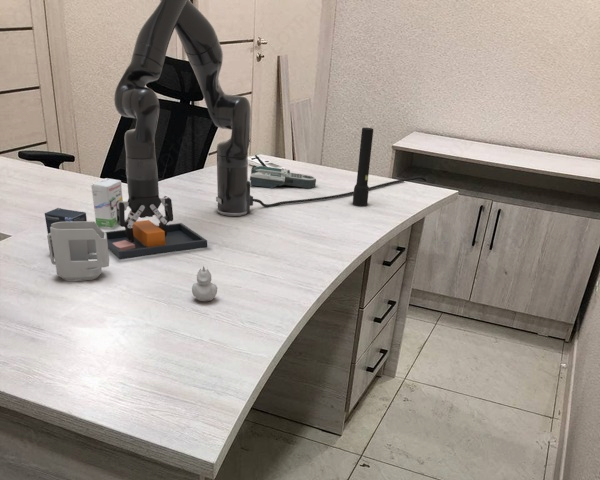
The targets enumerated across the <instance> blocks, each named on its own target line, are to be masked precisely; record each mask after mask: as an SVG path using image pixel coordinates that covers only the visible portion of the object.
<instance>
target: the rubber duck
mask: <svg viewBox="0 0 600 480" xmlns="http://www.w3.org/2000/svg"><path fill="white" fill-rule="evenodd" d="M191 293H192V295H193V296H194V297H195V299H196V300H198V301H200V302H210V301H212V300H213V299H214V298H215V297H216V296H217V294H218V286H217V284H215V283H213V282H212V273H211V271H210V270H209V269H208V268H207V269H206V268H205V265H202V268H199V270H198V271H197V274H196V282H194V283H193V284H192V286H191Z"/></svg>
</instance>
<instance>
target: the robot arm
mask: <svg viewBox="0 0 600 480" xmlns="http://www.w3.org/2000/svg"><path fill="white" fill-rule="evenodd" d="M152 12H153V13H151V14H150V16H149V17H148V19H147V20H146V21H145V22H144V24H143V25H142V27H141V28H140V30H139V32H138V34H137V37H136V40H135V44H134V48H133V51H132V55H131V59H130V63H129V64H128V66H127V67H126V69H125V71H124V73H123V74H122V75H121V76H122V77H120V79H119V81H118V83H117V86H116V88H115V90H114V97H113V102H114V107H115V110H116V111H117V113H118V114H119V115H120V116H122V117H125V118H128V119H133V120H134V119H135V120H136V123H135V128H132V129H129V130H126V132H125V133H124V148H125V175H126V184H127V194H128V199H127V200H126V201H123V202H121V201H119V200H118V201H117V202H116V209H117V223H118V224H117V225H119V226H120V227H121V228H124V230H125V232H126V238H127V239H128V240H129V241H130V242H131V243H132V242H134V236H133V228H132V226H133V224H134V223H135V222H136V221H138V220H139V218H140V219H144V218H147V217H148V218H153V216H154V217H156V219H157V220H158V221H159V222H158V226H159V228H161V229H162V230H163V231H165V236H166V235H167V226H166V225H168V224H169V222H173V221H174V212H173V210H174V209H173V202H172V201H173V200H172V199H171V197H169V196H166V195H164V196H163V197H160V191H159V189H160V188H159V176H158V175H159V174H158V173H159V172H158V163H157V157H156V144H155V143H156V142H155V137H156V132H157V127H158V121H159V116H160V101H159V98H158V95H157V93H156V92H155V91H154V90H153V89H152V88H150V87H146V86H147V85H148V84H149V83H153V82H156V81H158V80H159V78H160V77H161V74H162V71H163V66H164V63H165V59H166V55H167V51H168V48H169V46H170V45H169V44H170V41H171V39H172V36H173V34H174V32H176V34H177V36H178V39H179V41H180V43H181V46H182V49H183V51H184V53H185V56H186V58H187V60H188V62H189V64H190V66H191V68H192V70H193V73H194V75H195V78H196V80H197V82H198V85H199V87H200V90H201V93H202V96H203V99H204V102H205V106H206V108H207V111H208V115H209V117H210V120H211V122H212V123H213V124H214V126H215V127H217V128H219V129H222V130H228V131H231V135H230V138H229V139H228V140H224V141H220V142H218V143H217V145H216V176H217V177H216V181H217V183H216V185H217V186H216V188H217V193H216V194H217V196H215V202H216V203H217V205H216V206H217V209H216V210H217V214H219V215H222V216H226V217H227V216H228V217H240V216H241V217H242V216H245V215H247V214H251V207H252V206H254V203H258V204H260V206H262V207H265V208H272V207H277V206H280V205H287V204H288V205H289V204H298V203H299V204H300V203H308V202H309V203H310V202H316V201H323V200H325V201H326V200H330V199H336V198H342V197H347V196H351V195H353V194H354V190H353V191H349V192H344V193H340V194H334V195H328V196H327V195H326V196H321V197H314V198H313V197H312V198H305V199H303V198H302V199H294V200H283V201H278V202H274V203H268V204H267V203H264V201H262V200H261V199H257V198H254V196H252V195H251V181H250V180H248V179H249V178H248V177H249V175H248V174H249V173H248V171H249V166H248V165H249V147H250V143H251V142H250V140H251V125H252V124H251V123H252V106H251V103H250V100H249V99H248V98H247V97H246V96H241V95H235V94H228V93H225V91H223V88H222V86H221V83H220V79H219V77H220V73H221V70H222V66H223V61H224V60H223V59H224V53H223V49H222V46H221V43H220V40H219V36H218V35H217V33H216V30H215V28H214V26H213V25H212V23H211V21H209V19H207V17H206V16H205V15H204V14H203V13H202V12H201V10H199V8H197V6H195V5H194V3H192V1H191V0H160V2H159V4H158V5H157V6H156V8H155V10H154V11H152ZM418 179H420V180H423V181H424V182H427V181H428V179H426V178H425V177H424V176H422V175H420V176H419V175H418V176H413V177H409V178H402V179H397V180H393V181H388V182H385V183H381V184H376V185H373V186H368V187H369V191H370V190H375V189H377V188H378V189H379V188H381V187H385V186H389V185H394V184H399V183H402V182H409V181H414V180H418ZM161 205H162V206H163V207H164V215H165V216H163V214H162V213H161V211H159V208H160V206H161ZM127 208H129V209H130V211H129V213H128V214H127V217H126V215H125V213H126V212H125V211H127ZM125 217H126V218H125Z"/></svg>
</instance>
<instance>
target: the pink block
mask: <svg viewBox="0 0 600 480" xmlns="http://www.w3.org/2000/svg"><path fill="white" fill-rule="evenodd" d="M113 244H114V245H115V246H116V247H117V248H118V249H120V250H121V251H124V250H129V249H134V248H135V244H133V243H130V242H128V241H126V240H123V241H119V242H114V243H113Z"/></svg>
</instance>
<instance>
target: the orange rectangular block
mask: <svg viewBox="0 0 600 480" xmlns="http://www.w3.org/2000/svg"><path fill="white" fill-rule="evenodd" d="M158 226H159V225H157V224H155V223H154V222H153V221H151V220H149V219H147V220H139V221H138V220H137V221H136V222H135V223H134V224H133V226H132V228H133V236H134V241H136V242H137V243H138V244H139V245H141V246H142V247H143V248H146V247H154V246H161V245H165V231H163V230H162V229H161V228H159V227H158Z"/></svg>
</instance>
